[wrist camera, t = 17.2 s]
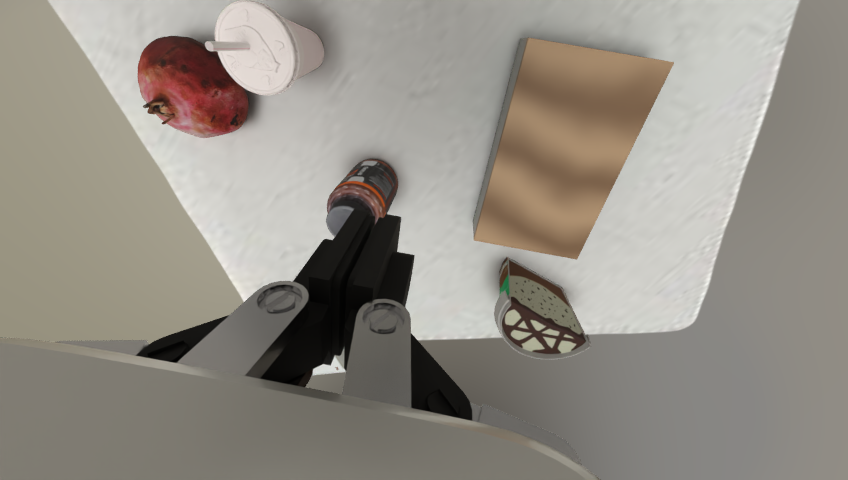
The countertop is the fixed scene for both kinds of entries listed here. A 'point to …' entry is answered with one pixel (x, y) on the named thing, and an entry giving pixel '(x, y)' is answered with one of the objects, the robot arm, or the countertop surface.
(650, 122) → the countertop surface
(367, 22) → the countertop surface
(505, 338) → the food container
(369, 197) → the supplement bottle
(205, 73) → the fruit
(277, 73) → the smoothie
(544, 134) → the lid
